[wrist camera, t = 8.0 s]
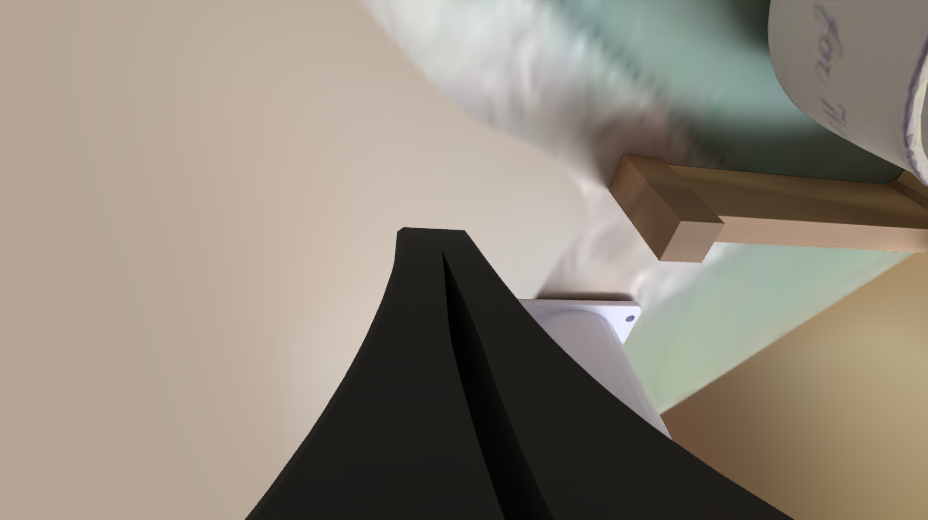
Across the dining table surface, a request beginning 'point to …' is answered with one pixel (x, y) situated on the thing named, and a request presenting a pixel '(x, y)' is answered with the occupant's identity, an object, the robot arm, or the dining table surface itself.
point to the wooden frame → (766, 209)
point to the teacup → (858, 71)
